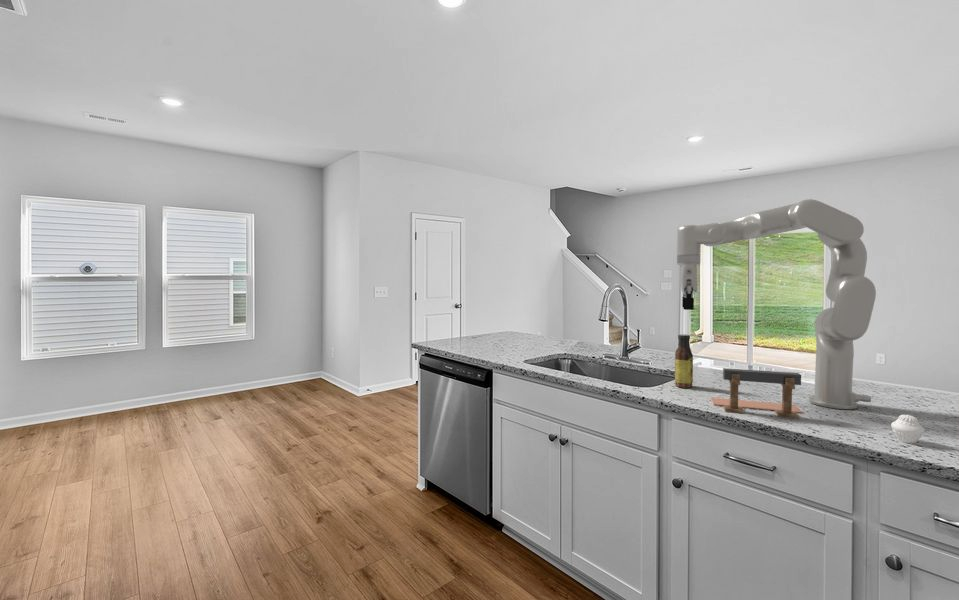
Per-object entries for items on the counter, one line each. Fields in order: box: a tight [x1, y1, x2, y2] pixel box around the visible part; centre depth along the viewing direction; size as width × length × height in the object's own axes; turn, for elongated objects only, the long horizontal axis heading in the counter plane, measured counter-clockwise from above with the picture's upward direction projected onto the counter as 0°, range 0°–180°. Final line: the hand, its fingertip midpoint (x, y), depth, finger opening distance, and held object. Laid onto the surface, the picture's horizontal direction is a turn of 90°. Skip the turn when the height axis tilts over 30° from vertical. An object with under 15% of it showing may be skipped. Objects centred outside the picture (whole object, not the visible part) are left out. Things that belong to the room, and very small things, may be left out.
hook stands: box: [723, 374, 799, 419], centre depth 136 cm, size 19×6×12 cm, turn 68°
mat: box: [711, 397, 803, 414], centre depth 144 cm, size 24×8×1 cm, turn 68°
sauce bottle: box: [674, 333, 694, 389], centre depth 168 cm, size 7×6×20 cm
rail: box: [722, 367, 802, 386], centre depth 136 cm, size 20×3×3 cm, turn 68°
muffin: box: [890, 414, 925, 445], centre depth 113 cm, size 6×6×7 cm
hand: (687, 308), depth 158 cm, fingers open, 9 cm apart
